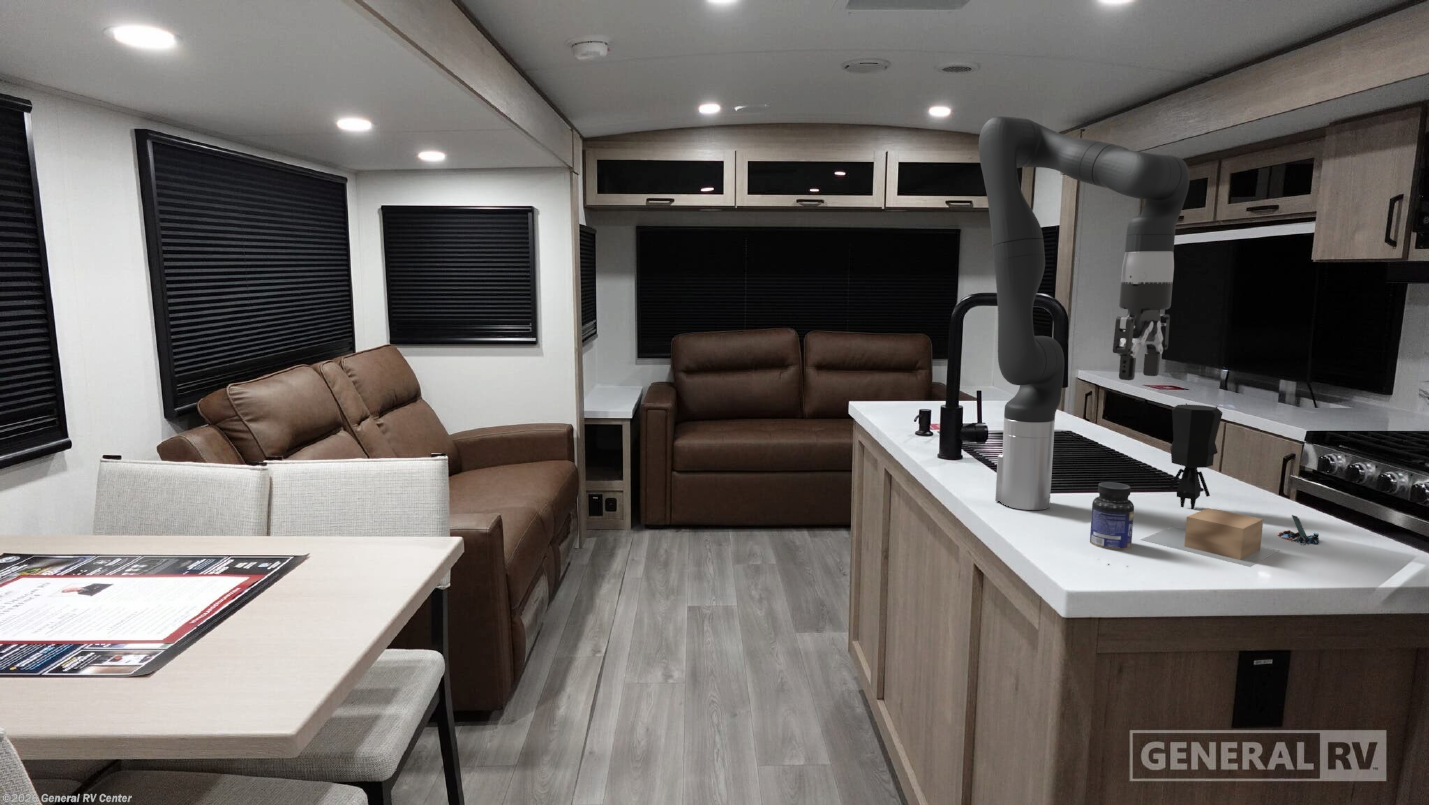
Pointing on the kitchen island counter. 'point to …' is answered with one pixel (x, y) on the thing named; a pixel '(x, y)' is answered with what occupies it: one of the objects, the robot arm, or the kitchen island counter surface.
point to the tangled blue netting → (1300, 534)
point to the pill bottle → (1112, 517)
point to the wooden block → (1223, 533)
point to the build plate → (1176, 540)
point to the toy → (1193, 447)
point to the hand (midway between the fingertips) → (1138, 377)
